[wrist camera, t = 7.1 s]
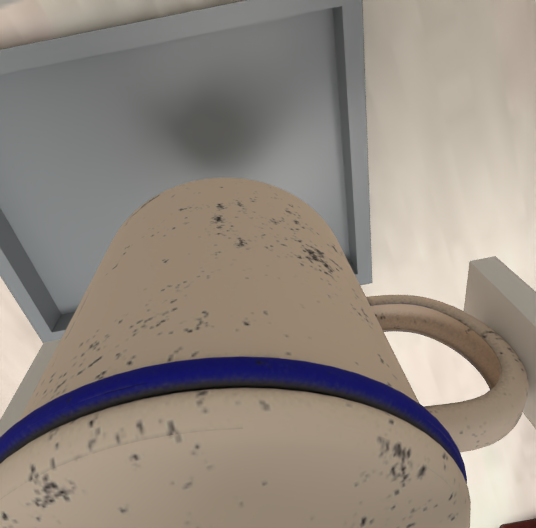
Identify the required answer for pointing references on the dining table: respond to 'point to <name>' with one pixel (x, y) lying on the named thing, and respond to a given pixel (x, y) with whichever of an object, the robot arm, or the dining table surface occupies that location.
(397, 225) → the dining table surface
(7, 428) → the robot arm
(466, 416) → the teacup with lid
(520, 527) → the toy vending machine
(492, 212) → the dining table surface
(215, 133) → the tray
